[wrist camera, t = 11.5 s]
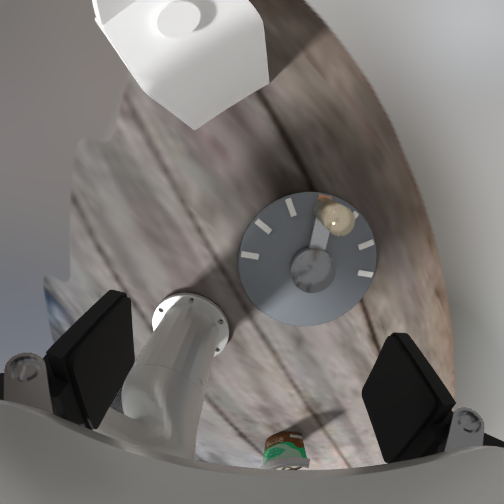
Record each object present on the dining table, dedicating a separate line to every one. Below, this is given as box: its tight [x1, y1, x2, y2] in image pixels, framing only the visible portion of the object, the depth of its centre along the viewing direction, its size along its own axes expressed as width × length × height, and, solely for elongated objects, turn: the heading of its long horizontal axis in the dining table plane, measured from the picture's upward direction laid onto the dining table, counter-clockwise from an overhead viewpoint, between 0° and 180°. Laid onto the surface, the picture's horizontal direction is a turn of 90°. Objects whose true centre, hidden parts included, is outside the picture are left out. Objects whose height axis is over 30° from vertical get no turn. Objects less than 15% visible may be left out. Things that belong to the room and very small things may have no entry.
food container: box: [260, 432, 310, 470], centre depth 48 cm, size 12×6×10 cm, turn 141°
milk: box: [92, 0, 269, 130], centre depth 20 cm, size 12×12×26 cm
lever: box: [290, 197, 355, 293], centre depth 34 cm, size 13×6×8 cm, turn 170°
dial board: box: [238, 192, 377, 326], centre depth 39 cm, size 20×20×1 cm
